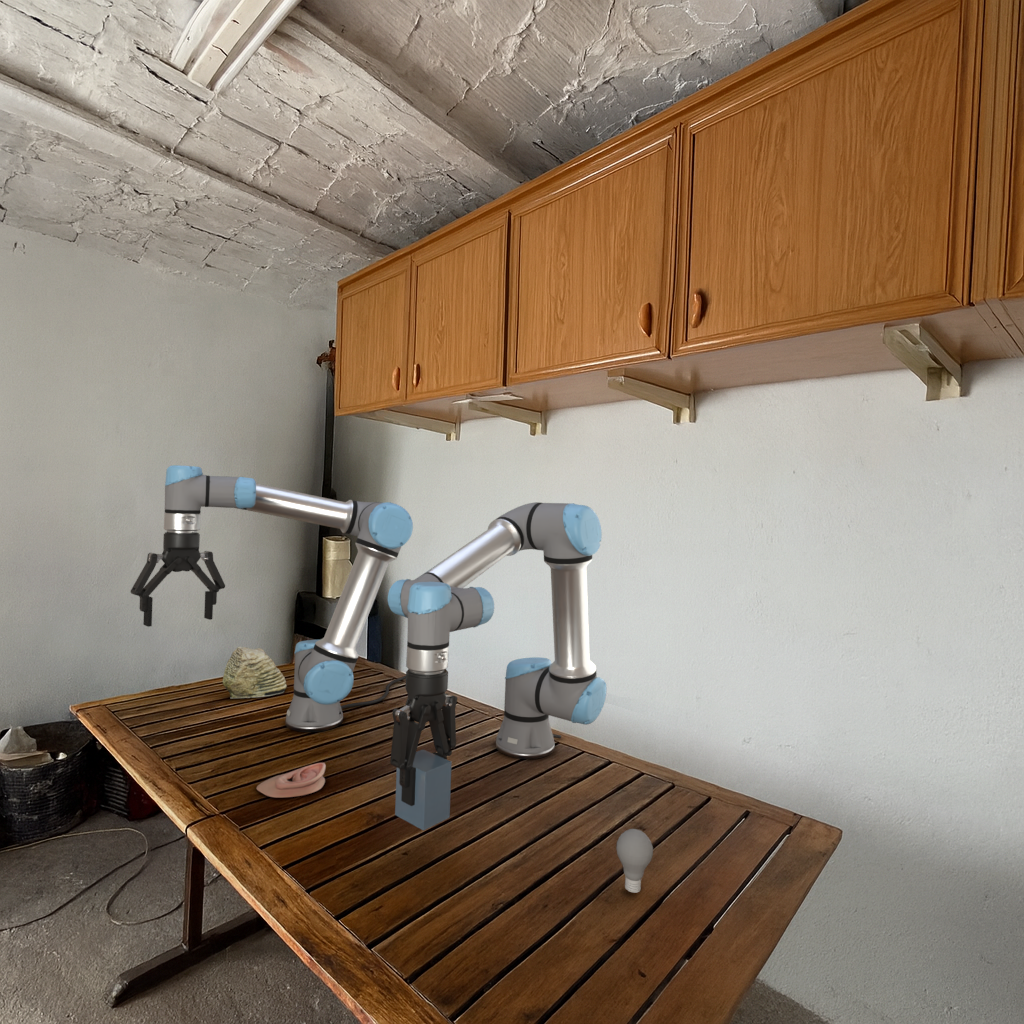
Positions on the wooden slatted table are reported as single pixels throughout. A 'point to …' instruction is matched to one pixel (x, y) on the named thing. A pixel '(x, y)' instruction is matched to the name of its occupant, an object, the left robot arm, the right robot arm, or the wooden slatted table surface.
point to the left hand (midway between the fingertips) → (178, 622)
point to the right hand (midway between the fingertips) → (422, 795)
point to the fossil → (252, 674)
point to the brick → (427, 791)
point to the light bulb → (634, 857)
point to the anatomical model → (295, 782)
